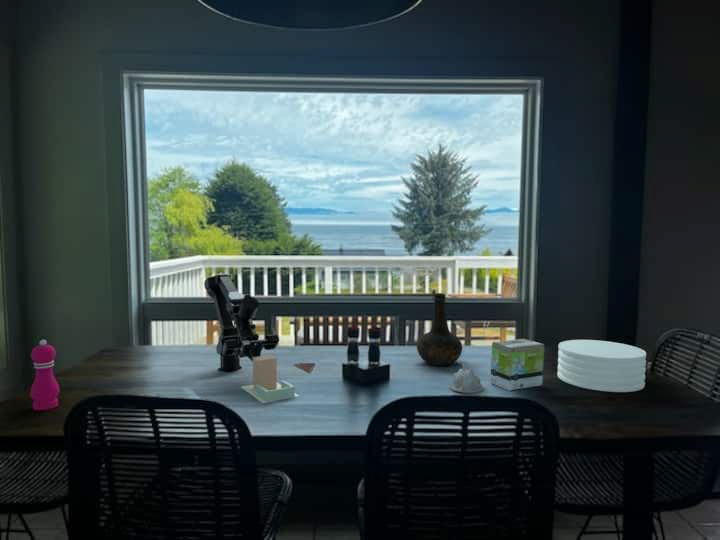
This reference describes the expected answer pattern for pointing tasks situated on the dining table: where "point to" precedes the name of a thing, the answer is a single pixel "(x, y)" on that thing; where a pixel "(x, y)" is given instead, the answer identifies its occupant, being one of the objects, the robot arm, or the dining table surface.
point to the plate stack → (602, 365)
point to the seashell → (466, 381)
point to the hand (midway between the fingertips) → (258, 365)
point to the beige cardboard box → (265, 372)
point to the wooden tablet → (305, 366)
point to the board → (272, 392)
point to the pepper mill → (44, 378)
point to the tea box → (517, 364)
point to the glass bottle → (439, 338)
